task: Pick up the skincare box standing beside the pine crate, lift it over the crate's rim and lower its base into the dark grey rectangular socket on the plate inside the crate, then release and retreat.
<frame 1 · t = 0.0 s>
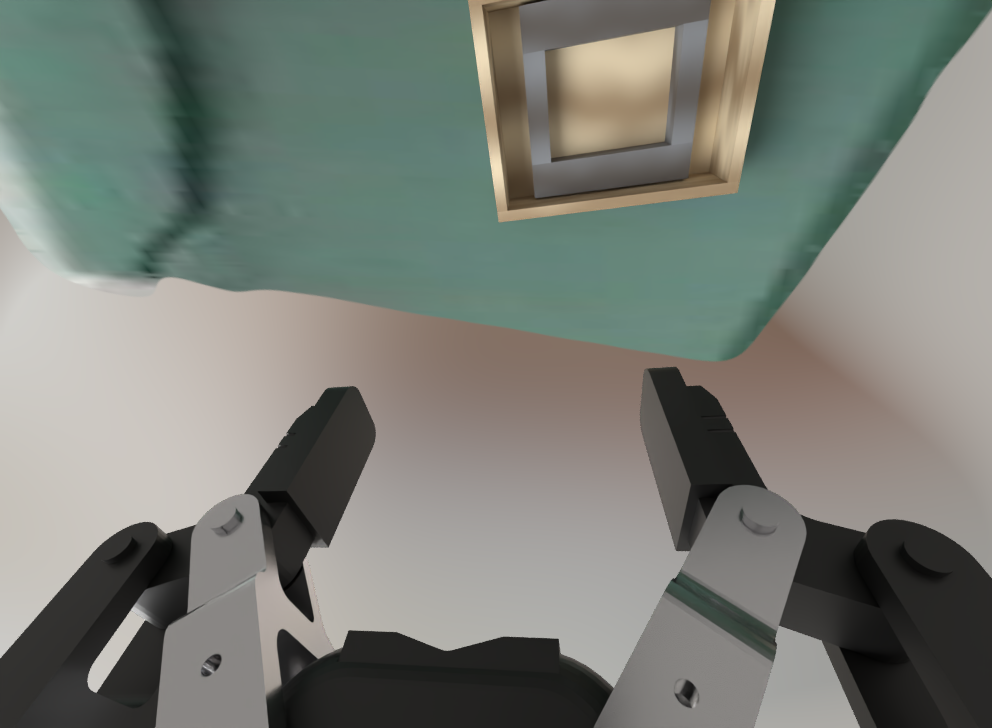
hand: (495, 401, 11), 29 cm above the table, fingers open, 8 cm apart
crate: (605, 97, 31), on the table
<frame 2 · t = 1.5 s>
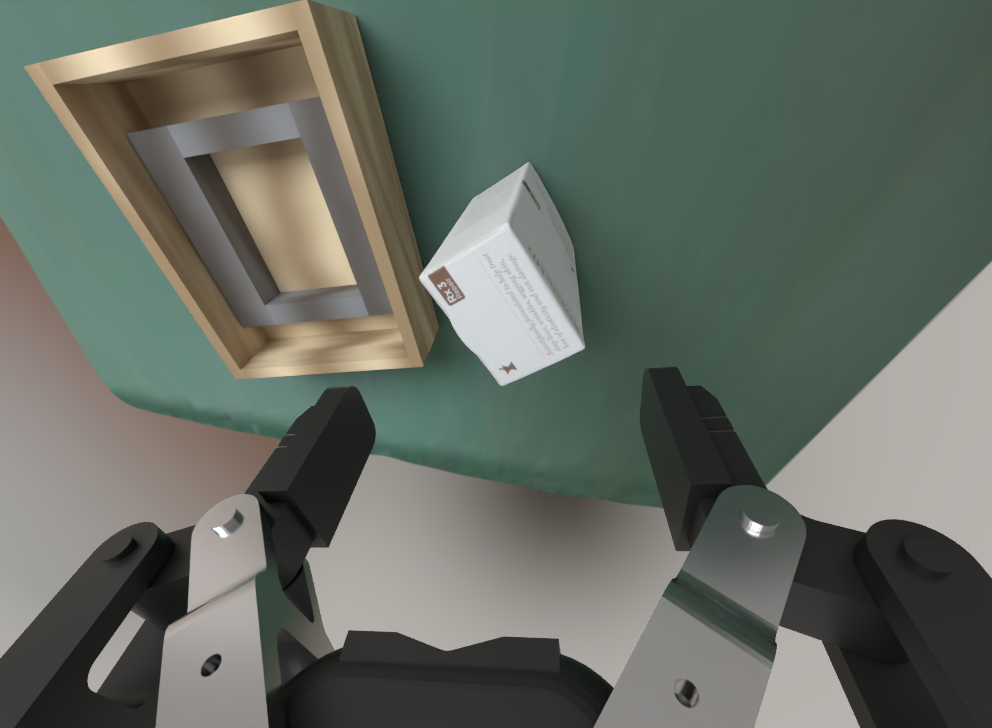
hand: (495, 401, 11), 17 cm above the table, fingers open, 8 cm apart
crate: (304, 218, 26), on the table
skincare box: (521, 221, 25), on the table
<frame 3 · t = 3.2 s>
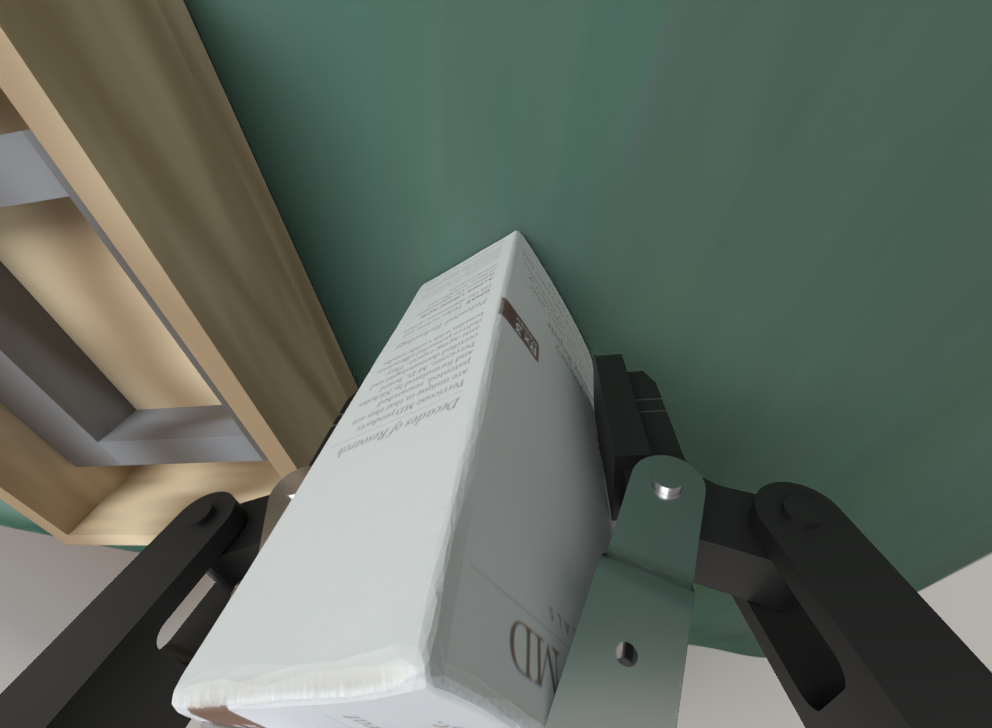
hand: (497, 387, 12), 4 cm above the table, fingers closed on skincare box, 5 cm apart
crate: (155, 306, 16), on the table
skincare box: (505, 317, 15), on the table, touching gripper
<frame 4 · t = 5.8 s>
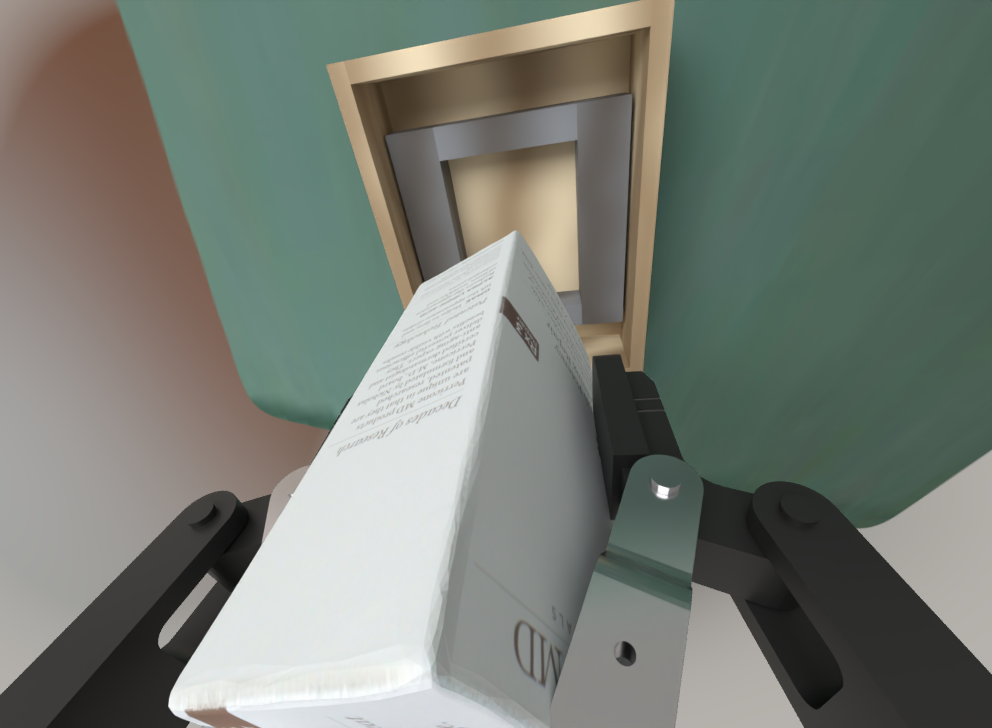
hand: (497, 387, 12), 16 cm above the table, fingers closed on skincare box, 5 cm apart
crate: (519, 223, 25), on the table
skincare box: (503, 317, 15), point 12 cm above the table, touching gripper
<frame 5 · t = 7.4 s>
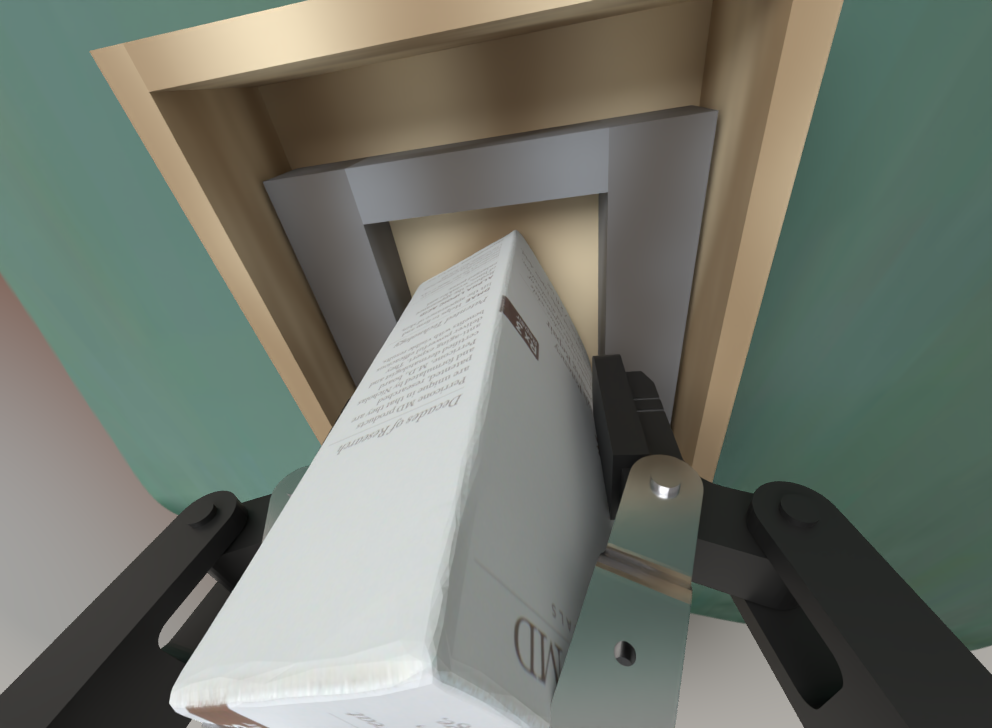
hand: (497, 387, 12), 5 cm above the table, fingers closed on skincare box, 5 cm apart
crate: (507, 302, 16), on the table
skincare box: (503, 317, 15), point 1 cm above the table, touching gripper
when the fingers open (5 cm above the table, at t = 8.5 s): skincare box stays where it is, resting on crate.
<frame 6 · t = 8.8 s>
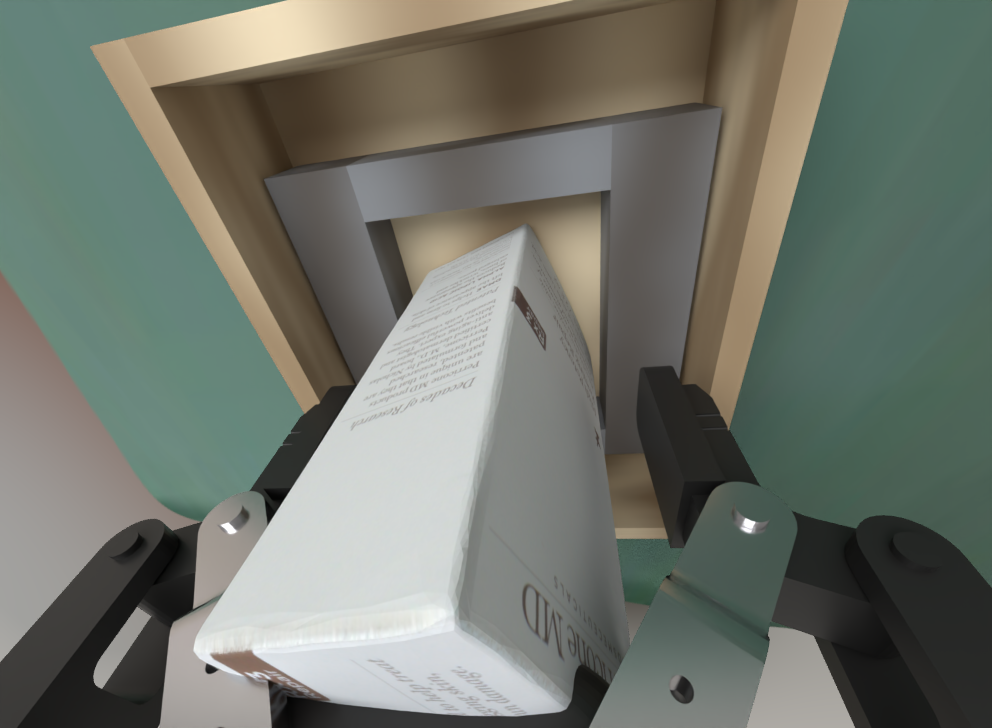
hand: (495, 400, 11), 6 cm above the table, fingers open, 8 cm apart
crate: (508, 301, 16), on the table
skincare box: (508, 308, 15), point 1 cm above the table, touching crate
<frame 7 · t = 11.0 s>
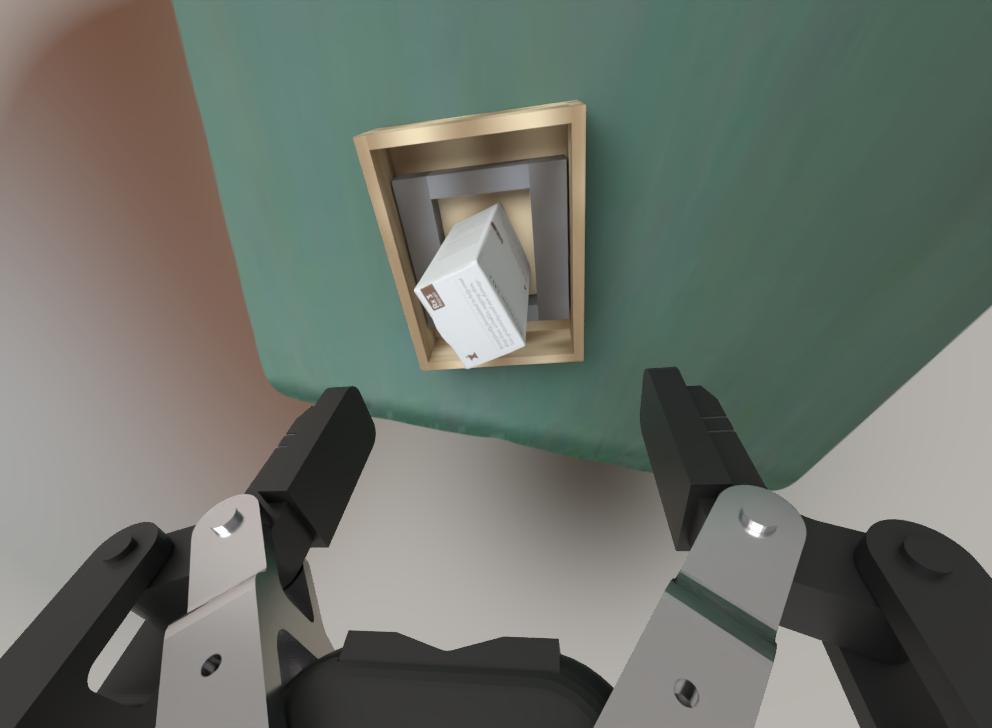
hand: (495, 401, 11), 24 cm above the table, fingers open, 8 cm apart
crate: (491, 242, 32), on the table
skincare box: (490, 244, 32), point 1 cm above the table, touching crate
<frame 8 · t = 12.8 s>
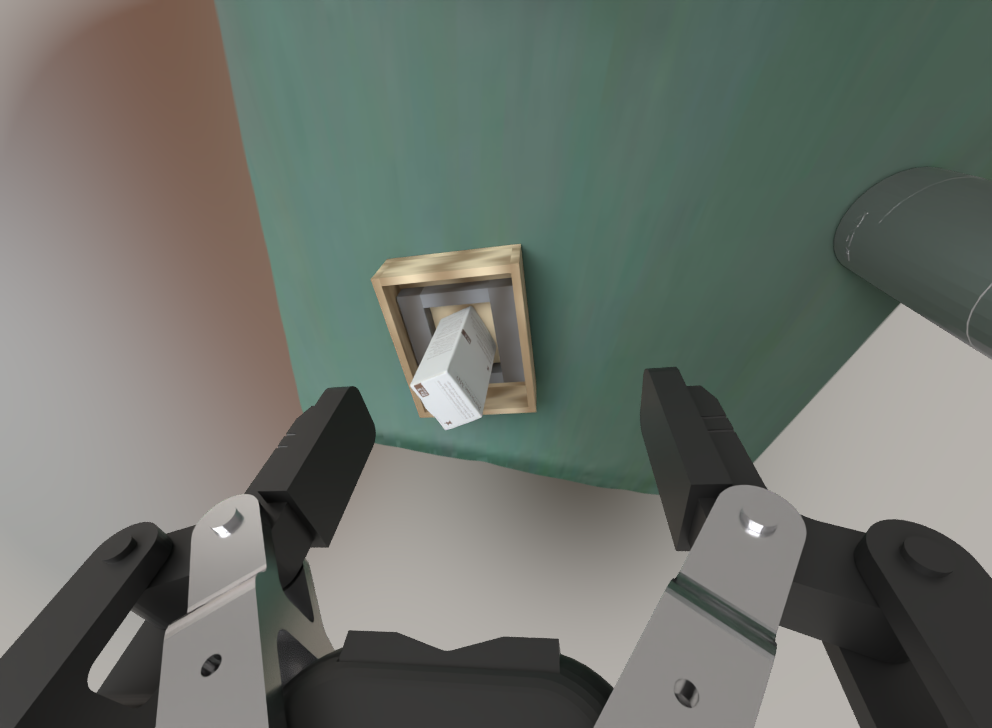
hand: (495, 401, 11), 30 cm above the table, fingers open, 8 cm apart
crate: (468, 327, 45), on the table
skincare box: (467, 330, 44), point 1 cm above the table, touching crate
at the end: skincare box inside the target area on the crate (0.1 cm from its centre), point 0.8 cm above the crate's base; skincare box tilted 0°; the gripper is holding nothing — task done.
